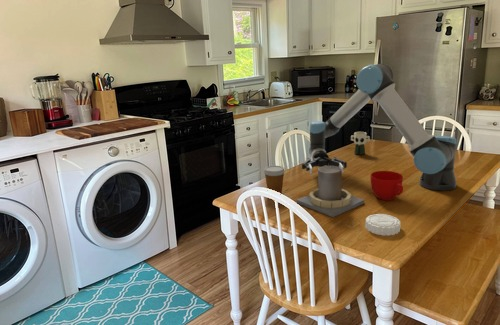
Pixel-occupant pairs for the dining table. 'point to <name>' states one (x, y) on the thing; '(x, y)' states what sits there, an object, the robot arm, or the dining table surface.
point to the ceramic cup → (386, 184)
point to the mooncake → (382, 224)
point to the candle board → (330, 210)
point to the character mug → (360, 141)
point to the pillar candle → (329, 183)
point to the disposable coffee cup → (274, 177)
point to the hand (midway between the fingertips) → (327, 170)
